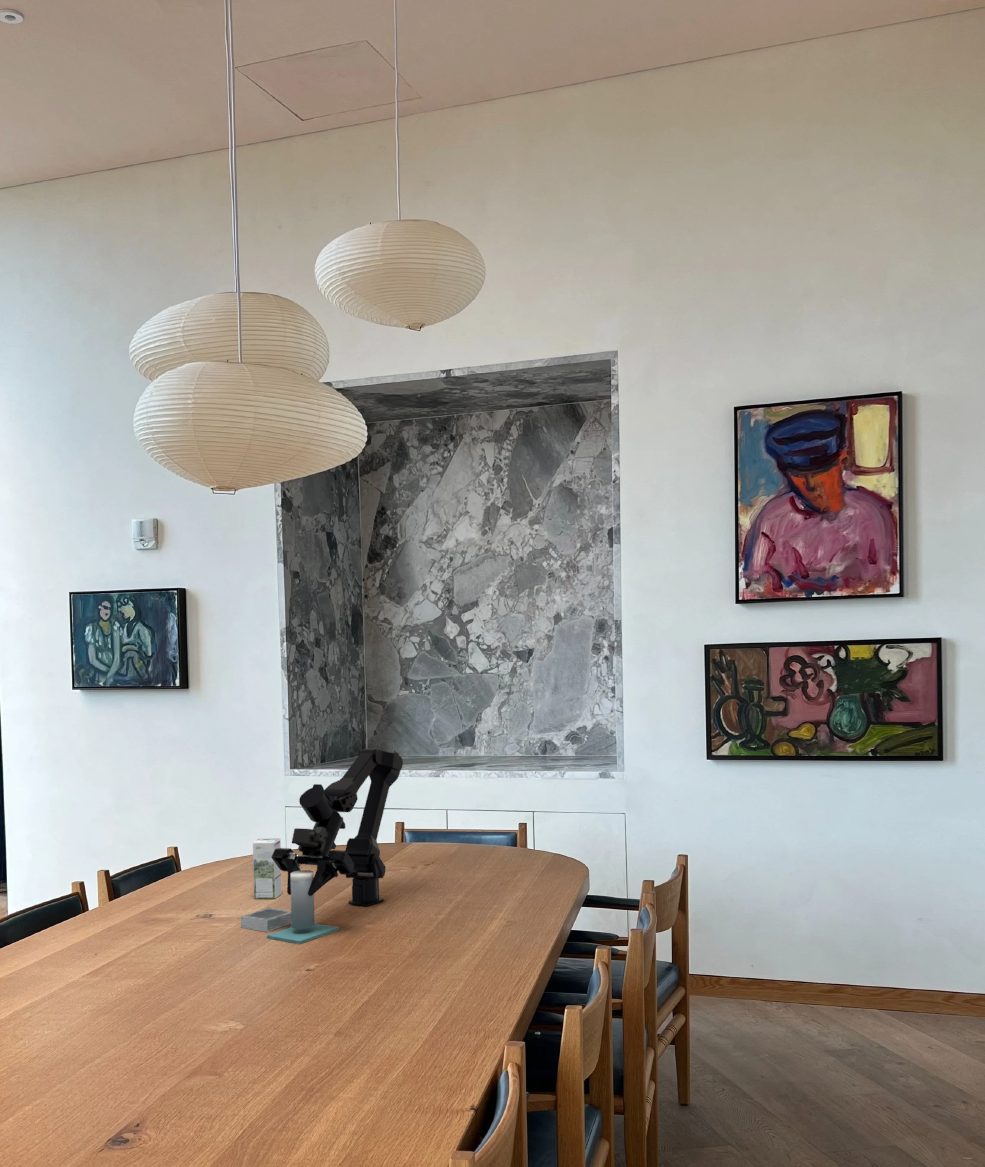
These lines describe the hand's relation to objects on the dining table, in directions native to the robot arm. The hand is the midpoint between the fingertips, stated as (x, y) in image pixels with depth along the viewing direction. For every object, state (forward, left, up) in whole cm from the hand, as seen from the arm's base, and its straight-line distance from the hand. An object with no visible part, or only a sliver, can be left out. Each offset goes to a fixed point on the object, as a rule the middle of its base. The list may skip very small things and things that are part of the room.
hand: (298, 894), depth 218 cm
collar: (-3, -13, -9) cm, 16 cm away
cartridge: (-1, 0, -7) cm, 7 cm away
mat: (-1, 0, -9) cm, 9 cm away
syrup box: (-23, -34, -9) cm, 42 cm away
